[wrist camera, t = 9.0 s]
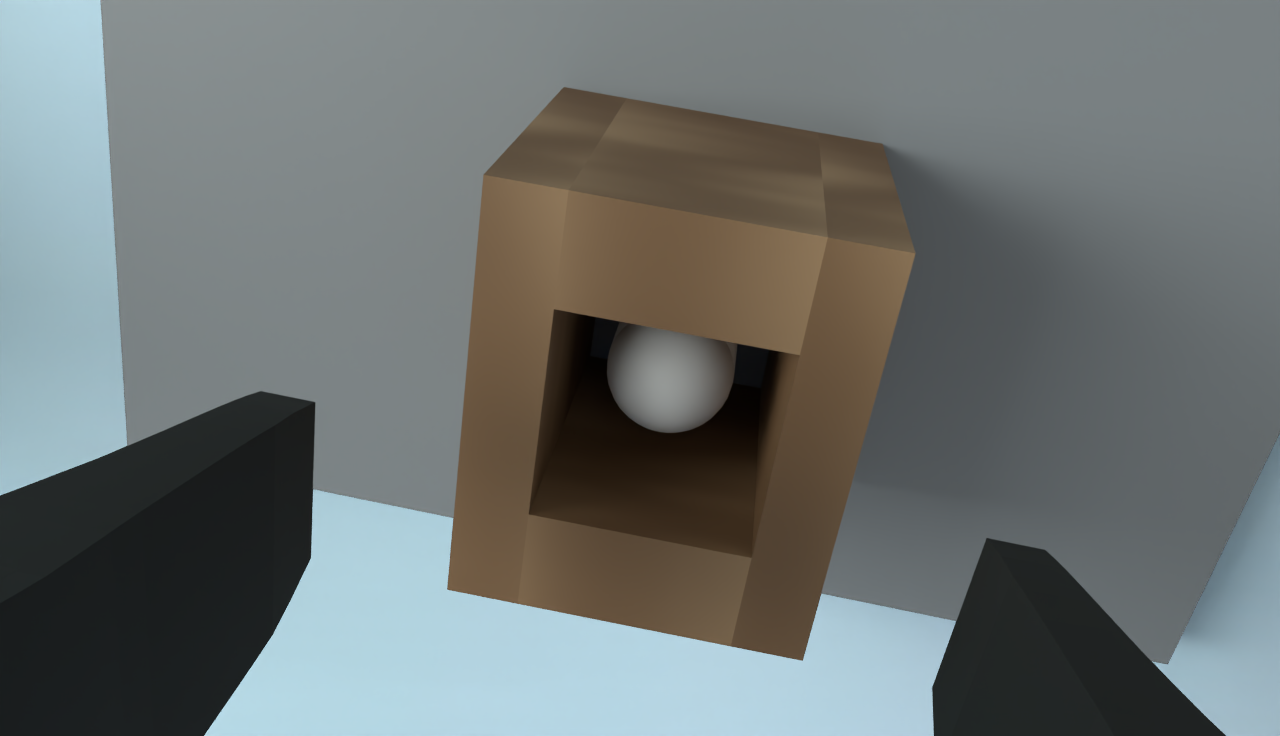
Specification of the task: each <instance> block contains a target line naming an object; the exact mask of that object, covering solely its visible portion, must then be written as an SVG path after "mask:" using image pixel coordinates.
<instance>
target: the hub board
mask: <svg viewBox="0 0 1280 736" xmlns="http://www.w3.org/2000/svg"><path fill="white" fill-rule="evenodd" d="M101 15H102V32H103V48H104V65H105V81H106V98H107V114H108V131H109V148H110V164H111V181H112V197H113V214H114V231H115V247H116V264H117V280H118V297H119V314H120V330H121V347H122V363H123V380H124V397H125V413H126V430H127V446H128V445H131V444H133V443H135V442H138V441H140V440H142V439H145V438H147V437H149V436H152V435H154V434H156V433H159V432H161V431H164V430H166V429H168V428H170V427H173V426H175V425H177V424H180V423H182V422H184V421H186V420H189V419H191V418H193V417H196V416H198V415H200V414H203V413H205V412H207V411H210V410H212V409H214V408H217V407H219V406H221V405H224V404H226V403H229V402H231V401H234V400H236V399H239V398H241V397H244V396H247V395H250V394H253V393H256V392H259V391H263V392H268V393H273V394H278V395H283V396H288V397H293V398H298V399H303V400H308V401H313V402H315V436H314V469H313V489H315V490H320V491H325V492H330V493H335V494H339V495H344V496H349V497H354V498H359V499H364V500H369V501H374V502H378V503H383V504H388V505H393V506H398V507H403V508H408V509H413V510H417V511H422V512H427V513H432V514H437V515H442V516H447V517H452V518H454V507H455V496H456V484H457V473H458V461H459V450H460V438H461V426H462V415H463V403H464V392H465V380H466V369H467V357H468V346H469V334H470V323H471V311H472V300H473V288H474V277H475V265H476V254H477V242H478V231H479V219H480V208H481V196H482V185H483V175H484V173H485V172H486V171H487V170H488V169H489V168H490V167H491V166H492V165H493V164H494V163H495V161H496V160H497V159H498V158H499V157H500V156H501V155H502V154H503V153H504V152H505V151H506V149H507V148H508V147H509V146H510V145H511V144H512V143H513V142H514V141H515V140H516V139H517V137H518V136H519V135H520V134H521V133H522V132H523V131H524V130H525V129H526V128H527V127H528V125H529V124H530V123H531V122H532V121H533V120H534V119H535V118H536V117H537V116H538V115H539V113H540V112H541V111H542V110H543V109H544V108H545V107H546V106H547V105H548V104H549V102H550V101H551V100H552V99H553V98H554V97H555V96H556V95H557V94H558V93H559V92H560V90H561V89H562V88H563V87H567V88H572V89H578V90H583V91H589V92H595V93H600V94H606V95H611V96H617V97H623V98H628V99H634V100H640V101H645V102H651V103H656V104H662V105H668V106H673V107H679V108H684V109H690V110H696V111H701V112H707V113H713V114H718V115H724V116H729V117H735V118H741V119H746V120H752V121H757V122H763V123H769V124H774V125H780V126H786V127H791V128H797V129H802V130H808V131H814V132H819V133H825V134H830V135H836V136H842V137H847V138H853V139H859V140H864V141H870V142H875V143H881V144H883V147H884V150H885V154H886V157H887V160H888V164H889V167H890V170H891V174H892V177H893V180H894V183H895V187H896V190H897V193H898V197H899V200H900V203H901V207H902V210H903V213H904V217H905V220H906V223H907V227H908V230H909V233H910V237H911V240H912V243H913V247H914V250H915V253H916V254H915V257H914V261H913V264H912V268H911V272H910V275H909V279H908V283H907V286H906V290H905V293H904V297H903V301H902V304H901V308H900V311H899V315H898V319H897V322H896V326H895V329H894V333H893V337H892V340H891V344H890V347H889V351H888V355H887V358H886V362H885V365H884V369H883V373H882V376H881V380H880V383H879V387H878V391H877V394H876V398H875V401H874V405H873V409H872V412H871V416H870V419H869V423H868V427H867V430H866V434H865V437H864V441H863V445H862V448H861V452H860V456H859V459H858V463H857V466H856V470H855V474H854V477H853V481H852V484H851V488H850V492H849V495H848V499H847V502H846V506H845V510H844V513H843V517H842V520H841V524H840V528H839V531H838V535H837V538H836V542H835V546H834V549H833V553H832V556H831V560H830V564H829V567H828V571H827V574H826V578H825V582H824V585H823V589H822V592H821V593H822V594H827V595H832V596H837V597H842V598H847V599H851V600H856V601H861V602H866V603H871V604H876V605H881V606H886V607H891V608H895V609H900V610H905V611H910V612H915V613H920V614H925V615H930V616H934V617H939V618H944V619H949V620H954V621H957V618H958V615H959V613H960V610H961V607H962V604H963V602H964V599H965V596H966V593H967V591H968V588H969V585H970V582H971V580H972V577H973V574H974V571H975V569H976V566H977V563H978V560H979V557H980V555H981V552H982V549H983V546H984V544H985V541H986V538H990V539H995V540H999V541H1004V542H1009V543H1014V544H1019V545H1024V546H1029V547H1034V548H1039V549H1044V550H1046V551H1047V552H1048V553H1049V554H1050V555H1051V556H1053V557H1054V558H1055V559H1056V560H1057V561H1058V562H1059V563H1060V564H1061V565H1062V566H1063V567H1064V568H1065V569H1066V570H1067V571H1068V572H1069V573H1070V574H1071V575H1072V576H1073V578H1074V579H1075V580H1076V581H1077V582H1078V583H1079V584H1080V585H1081V586H1082V587H1083V588H1084V589H1085V590H1086V591H1087V592H1088V594H1089V595H1090V596H1091V597H1092V598H1093V599H1094V600H1095V601H1096V602H1097V603H1098V604H1099V605H1100V607H1101V608H1102V609H1103V610H1104V611H1105V612H1106V613H1107V614H1108V615H1109V616H1110V617H1111V618H1112V620H1113V621H1114V622H1115V623H1116V624H1117V625H1118V626H1119V627H1120V628H1121V629H1122V630H1123V631H1124V633H1125V634H1126V635H1127V636H1128V637H1129V638H1130V639H1131V640H1132V641H1133V642H1134V643H1135V644H1136V645H1137V646H1138V648H1139V649H1140V650H1141V651H1142V652H1143V653H1144V654H1145V655H1146V656H1147V657H1148V658H1149V659H1150V660H1151V661H1154V662H1159V663H1164V664H1168V663H1169V661H1170V659H1171V657H1172V655H1173V653H1174V650H1175V648H1176V646H1177V644H1178V642H1179V640H1180V638H1181V636H1182V634H1183V632H1184V630H1185V628H1186V626H1187V624H1188V622H1189V619H1190V617H1191V615H1192V613H1193V611H1194V609H1195V607H1196V605H1197V603H1198V601H1199V599H1200V597H1201V595H1202V593H1203V591H1204V589H1205V586H1206V584H1207V582H1208V580H1209V578H1210V576H1211V574H1212V572H1213V570H1214V568H1215V566H1216V564H1217V562H1218V560H1219V558H1220V555H1221V553H1222V551H1223V549H1224V547H1225V545H1226V543H1227V541H1228V539H1229V537H1230V535H1231V533H1232V531H1233V529H1234V527H1235V524H1236V522H1237V520H1238V518H1239V516H1240V514H1241V512H1242V510H1243V508H1244V506H1245V504H1246V502H1247V500H1248V498H1249V496H1250V493H1251V491H1252V489H1253V487H1254V485H1255V483H1256V481H1257V479H1258V477H1259V475H1260V473H1261V471H1262V469H1263V467H1264V465H1265V463H1266V460H1267V458H1268V456H1269V454H1270V452H1271V450H1272V448H1273V446H1274V444H1275V442H1276V440H1277V438H1278V436H1279V434H1280V0H101ZM768 354H769V349H764V348H758V347H753V346H748V345H742V344H737V343H732V342H726V341H721V340H716V339H710V338H705V337H700V336H694V335H689V334H684V333H678V332H673V331H668V330H662V329H657V328H652V327H646V326H641V325H636V324H630V323H625V322H620V321H614V320H609V319H604V318H598V317H596V318H595V325H594V332H593V339H592V346H591V353H590V356H592V357H598V358H603V359H608V361H607V378H608V384H609V387H610V390H611V392H612V395H613V398H614V400H615V401H616V403H617V405H618V406H619V408H620V409H621V410H622V411H623V412H624V413H625V414H626V415H627V416H628V417H629V418H630V419H632V420H633V421H634V422H636V423H637V424H639V425H641V426H643V427H645V428H647V429H650V430H653V431H657V432H664V433H676V432H684V431H688V430H692V429H694V428H696V427H699V426H701V425H703V424H704V423H705V422H707V421H708V420H710V419H711V418H712V417H713V416H714V415H715V414H716V413H717V412H718V411H719V410H720V409H721V408H722V406H723V405H724V403H725V401H726V400H727V398H728V395H729V393H730V390H731V387H732V384H733V383H735V384H740V385H746V386H751V387H756V388H761V386H762V381H763V377H764V372H765V368H766V363H767V359H768Z"/></svg>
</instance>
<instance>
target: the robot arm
mask: <svg viewBox="0 0 1280 736" xmlns="http://www.w3.org/2000/svg"><path fill="white" fill-rule="evenodd" d="M314 436H315V402H313V401H308V400H303V399H298V398H293V397H288V396H283V395H278V394H273V393H268V392H263V391H259V392H256V393H253V394H250V395H247V396H244V397H241V398H239V399H236V400H234V401H231V402H229V403H226V404H224V405H221V406H219V407H217V408H214V409H212V410H210V411H207V412H205V413H203V414H200V415H198V416H196V417H193V418H191V419H189V420H186V421H184V422H182V423H180V424H177V425H175V426H173V427H170V428H168V429H166V430H164V431H161V432H159V433H156V434H154V435H152V436H149V437H147V438H145V439H142V440H140V441H138V442H135V443H133V444H131V445H128V446H126V447H124V448H121V449H119V450H117V451H114V452H112V453H110V454H107V455H105V456H103V457H100V458H98V459H95V460H93V461H90V462H87V463H85V464H82V465H80V466H77V467H74V468H72V469H69V470H66V471H64V472H61V473H59V474H56V475H53V476H51V477H48V478H45V479H43V480H40V481H38V482H35V483H32V484H30V485H27V486H25V487H22V488H19V489H17V490H14V491H11V492H9V493H6V494H3V495H1V496H0V736H204V735H205V733H206V732H207V730H208V729H209V728H210V726H211V725H212V723H213V722H214V720H215V719H216V717H217V716H218V715H219V713H220V712H221V710H222V709H223V707H224V706H225V704H226V703H227V702H228V700H229V699H230V697H231V696H232V694H233V693H234V691H235V690H236V688H237V687H238V685H239V684H240V682H241V681H242V680H243V678H244V677H245V675H246V674H247V672H248V671H249V669H250V668H251V666H252V665H253V663H254V662H255V660H256V659H257V657H258V656H259V654H260V653H261V651H262V650H263V648H264V647H265V645H266V644H267V642H268V641H269V639H270V638H271V636H272V635H273V633H274V631H275V629H276V627H277V625H278V623H279V621H280V619H281V618H282V616H283V614H284V612H285V610H286V608H287V606H288V604H289V602H290V600H291V598H292V596H293V594H294V592H295V590H296V588H297V586H298V584H299V581H300V579H301V577H302V575H303V573H304V571H305V569H306V567H307V565H308V563H309V561H310V559H311V536H312V502H313V469H314ZM932 691H933V721H934V736H1226V735H1225V734H1224V733H1223V732H1221V731H1220V730H1219V729H1218V728H1217V727H1216V726H1215V725H1214V724H1213V723H1212V722H1211V721H1210V720H1209V719H1208V718H1207V717H1206V716H1205V715H1204V714H1203V713H1202V712H1201V711H1200V710H1199V709H1198V708H1197V707H1196V706H1195V705H1194V704H1193V703H1192V702H1191V701H1190V700H1189V699H1188V698H1187V697H1186V696H1185V695H1184V694H1183V693H1182V692H1181V691H1180V690H1179V689H1178V688H1177V687H1176V686H1175V685H1174V684H1173V683H1172V682H1171V681H1170V680H1169V679H1168V678H1167V677H1166V676H1165V675H1164V674H1163V673H1162V672H1161V671H1160V670H1159V669H1158V668H1157V667H1156V665H1155V664H1154V663H1153V662H1152V661H1151V660H1150V659H1149V658H1148V657H1147V656H1146V655H1145V654H1144V653H1143V652H1142V651H1141V650H1140V649H1139V648H1138V646H1137V645H1136V644H1135V643H1134V642H1133V641H1132V640H1131V639H1130V638H1129V637H1128V636H1127V635H1126V634H1125V633H1124V631H1123V630H1122V629H1121V628H1120V627H1119V626H1118V625H1117V624H1116V623H1115V622H1114V621H1113V620H1112V618H1111V617H1110V616H1109V615H1108V614H1107V613H1106V612H1105V611H1104V610H1103V609H1102V608H1101V607H1100V605H1099V604H1098V603H1097V602H1096V601H1095V600H1094V599H1093V598H1092V597H1091V596H1090V595H1089V594H1088V592H1087V591H1086V590H1085V589H1084V588H1083V587H1082V586H1081V585H1080V584H1079V583H1078V582H1077V581H1076V580H1075V579H1074V578H1073V576H1072V575H1071V574H1070V573H1069V572H1068V571H1067V570H1066V569H1065V568H1064V567H1063V566H1062V565H1061V564H1060V563H1059V562H1058V561H1057V560H1056V559H1055V558H1054V557H1053V556H1051V555H1050V554H1049V553H1048V552H1047V551H1046V550H1044V549H1039V548H1034V547H1029V546H1024V545H1019V544H1014V543H1009V542H1004V541H999V540H995V539H990V538H986V541H985V544H984V546H983V549H982V552H981V555H980V557H979V560H978V563H977V566H976V569H975V571H974V574H973V577H972V580H971V582H970V585H969V588H968V591H967V593H966V596H965V599H964V602H963V604H962V607H961V610H960V613H959V615H958V618H957V621H956V624H955V626H954V629H953V632H952V635H951V638H950V640H949V643H948V646H947V649H946V651H945V654H944V657H943V660H942V662H941V665H940V668H939V671H938V673H937V676H936V679H935V682H934V684H933V687H932Z"/></svg>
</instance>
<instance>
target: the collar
mask: <svg viewBox="0 0 1280 736" xmlns="http://www.w3.org/2000/svg"><path fill="white" fill-rule="evenodd" d="M915 254H916V253H915V250H914V247H913V243H912V240H911V237H910V233H909V230H908V227H907V223H906V220H905V217H904V213H903V210H902V207H901V203H900V200H899V197H898V193H897V190H896V187H895V183H894V180H893V177H892V174H891V170H890V167H889V164H888V160H887V157H886V154H885V150H884V147H883V144H881V143H875V142H870V141H864V140H859V139H853V138H847V137H842V136H836V135H830V134H825V133H819V132H814V131H808V130H802V129H797V128H791V127H786V126H780V125H774V124H769V123H763V122H757V121H752V120H746V119H741V118H735V117H729V116H724V115H718V114H713V113H707V112H701V111H696V110H690V109H684V108H679V107H673V106H668V105H662V104H656V103H651V102H645V101H640V100H634V99H628V98H623V97H617V96H611V95H606V94H600V93H595V92H589V91H583V90H578V89H572V88H567V87H563V88H562V89H561V90H560V92H559V93H558V94H557V95H556V96H555V97H554V98H553V99H552V100H551V101H550V102H549V104H548V105H547V106H546V107H545V108H544V109H543V110H542V111H541V112H540V113H539V115H538V116H537V117H536V118H535V119H534V120H533V121H532V122H531V123H530V124H529V125H528V127H527V128H526V129H525V130H524V131H523V132H522V133H521V134H520V135H519V136H518V137H517V139H516V140H515V141H514V142H513V143H512V144H511V145H510V146H509V147H508V148H507V149H506V151H505V152H504V153H503V154H502V155H501V156H500V157H499V158H498V159H497V160H496V161H495V163H494V164H493V165H492V166H491V167H490V168H489V169H488V170H487V171H486V172H485V173H484V175H483V185H482V196H481V208H480V219H479V231H478V242H477V254H476V265H475V277H474V288H473V300H472V311H471V323H470V334H469V346H468V357H467V369H466V380H465V392H464V403H463V415H462V426H461V438H460V450H459V461H458V473H457V484H456V496H455V507H454V519H453V530H452V542H451V553H450V565H449V576H448V588H447V590H452V591H457V592H462V593H467V594H472V595H477V596H482V597H487V598H492V599H497V600H502V601H507V602H512V603H517V604H522V605H527V606H532V607H537V608H542V609H547V610H552V611H557V612H562V613H567V614H572V615H577V616H582V617H587V618H592V619H597V620H602V621H607V622H612V623H617V624H622V625H627V626H632V627H637V628H642V629H647V630H652V631H657V632H662V633H667V634H672V635H677V636H682V637H687V638H692V639H697V640H702V641H707V642H712V643H717V644H722V645H727V646H732V647H737V648H742V649H747V650H752V651H757V652H762V653H767V654H772V655H777V656H782V657H787V658H792V659H797V660H802V661H803V657H804V654H805V650H806V647H807V643H808V639H809V636H810V632H811V629H812V625H813V621H814V618H815V614H816V611H817V607H818V603H819V600H820V596H821V592H822V589H823V585H824V582H825V578H826V574H827V571H828V567H829V564H830V560H831V556H832V553H833V549H834V546H835V542H836V538H837V535H838V531H839V528H840V524H841V520H842V517H843V513H844V510H845V506H846V502H847V499H848V495H849V492H850V488H851V484H852V481H853V477H854V474H855V470H856V466H857V463H858V459H859V456H860V452H861V448H862V445H863V441H864V437H865V434H866V430H867V427H868V423H869V419H870V416H871V412H872V409H873V405H874V401H875V398H876V394H877V391H878V387H879V383H880V380H881V376H882V373H883V369H884V365H885V362H886V358H887V355H888V351H889V347H890V344H891V340H892V337H893V333H894V329H895V326H896V322H897V319H898V315H899V311H900V308H901V304H902V301H903V297H904V293H905V290H906V286H907V283H908V279H909V275H910V272H911V268H912V264H913V261H914V257H915ZM596 317H598V318H604V319H609V320H614V321H620V322H625V323H630V324H636V325H641V326H646V327H652V328H657V329H662V330H668V331H673V332H678V333H684V334H689V335H694V336H700V337H705V338H710V339H716V340H721V341H726V342H732V343H737V344H742V345H748V346H753V347H758V348H764V349H769V354H768V359H767V363H766V368H765V372H764V377H763V381H762V386H761V388H756V387H751V386H746V385H740V384H735V383H733V384H732V387H731V390H730V393H729V395H728V398H727V400H726V401H725V403H724V405H723V406H722V408H721V409H720V410H719V411H718V412H717V413H716V414H715V415H714V416H713V417H712V418H711V419H710V420H708V421H707V422H705V423H704V424H703V425H701V426H699V427H696V428H694V429H692V430H688V431H684V432H676V433H664V432H657V431H653V430H650V429H647V428H645V427H643V426H641V425H639V424H637V423H636V422H634V421H633V420H632V419H630V418H629V417H628V416H627V415H626V414H625V413H624V412H623V411H622V410H621V409H620V408H619V406H618V405H617V403H616V401H615V400H614V398H613V395H612V392H611V390H610V387H609V384H608V378H607V361H608V359H603V358H598V357H592V356H590V353H591V346H592V339H593V332H594V325H595V318H596Z"/></svg>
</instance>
